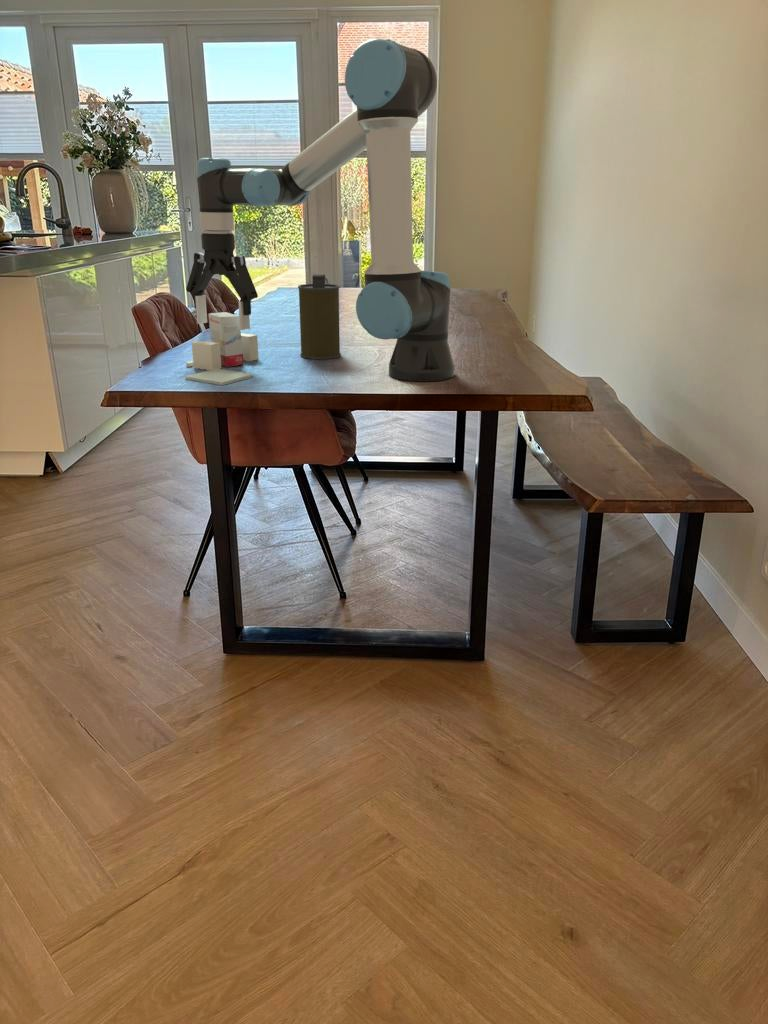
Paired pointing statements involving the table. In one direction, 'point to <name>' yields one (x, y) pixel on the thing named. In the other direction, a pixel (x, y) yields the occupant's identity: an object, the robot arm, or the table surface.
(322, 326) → the canister
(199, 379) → the mat
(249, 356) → the holder
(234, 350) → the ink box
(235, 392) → the table surface
